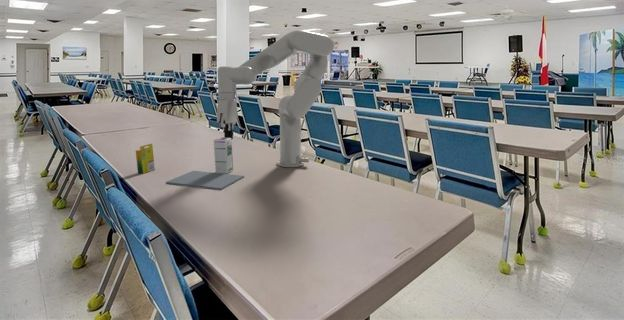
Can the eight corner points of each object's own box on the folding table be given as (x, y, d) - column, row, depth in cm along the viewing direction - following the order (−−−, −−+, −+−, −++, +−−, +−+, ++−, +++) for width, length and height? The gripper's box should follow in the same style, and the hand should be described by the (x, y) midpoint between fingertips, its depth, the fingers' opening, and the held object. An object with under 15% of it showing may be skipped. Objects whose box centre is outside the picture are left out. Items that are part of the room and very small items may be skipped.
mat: (244, 177, 163) (244, 175, 163) (221, 189, 146) (221, 188, 146) (193, 172, 170) (193, 170, 170) (166, 183, 153) (165, 181, 153)
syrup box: (228, 173, 168) (226, 139, 165) (214, 173, 169) (213, 139, 166) (233, 170, 173) (232, 137, 170) (220, 169, 174) (219, 136, 171)
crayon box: (149, 169, 174) (147, 142, 171) (155, 169, 173) (153, 143, 170) (137, 173, 167) (134, 145, 164) (143, 174, 166) (140, 146, 163)
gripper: (228, 95, 177) (229, 136, 181) (210, 97, 163) (211, 141, 167) (243, 95, 175) (244, 137, 179) (226, 98, 161) (227, 142, 165)
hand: (228, 139), depth 173 cm, fingers closed
